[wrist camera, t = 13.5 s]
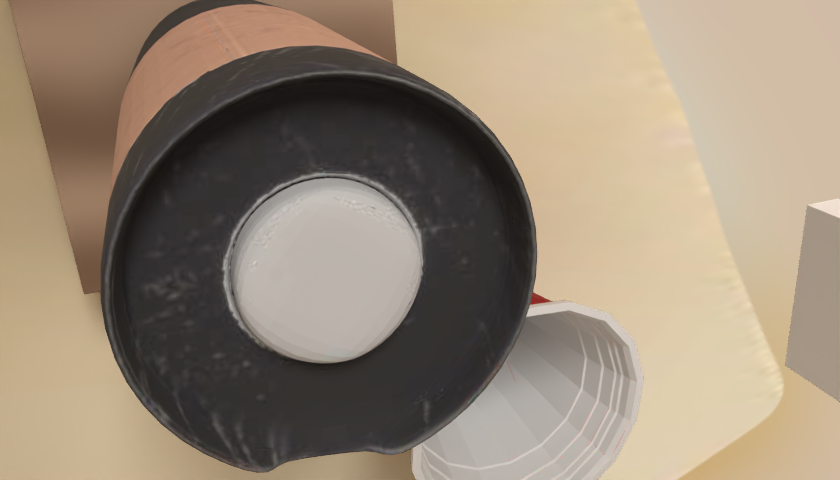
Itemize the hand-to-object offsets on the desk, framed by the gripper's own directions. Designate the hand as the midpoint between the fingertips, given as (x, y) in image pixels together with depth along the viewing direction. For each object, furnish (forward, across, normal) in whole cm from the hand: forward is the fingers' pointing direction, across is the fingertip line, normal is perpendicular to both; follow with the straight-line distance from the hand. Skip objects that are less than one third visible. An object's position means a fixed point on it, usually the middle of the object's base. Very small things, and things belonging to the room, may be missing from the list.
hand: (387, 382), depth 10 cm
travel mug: (+23, 0, 0) cm, 23 cm away
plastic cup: (+27, +10, -14) cm, 32 cm away
